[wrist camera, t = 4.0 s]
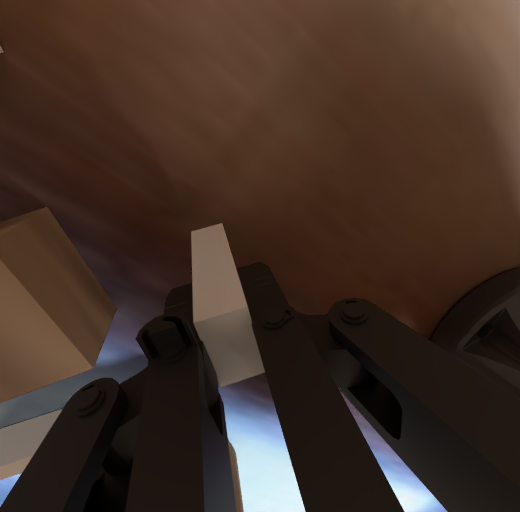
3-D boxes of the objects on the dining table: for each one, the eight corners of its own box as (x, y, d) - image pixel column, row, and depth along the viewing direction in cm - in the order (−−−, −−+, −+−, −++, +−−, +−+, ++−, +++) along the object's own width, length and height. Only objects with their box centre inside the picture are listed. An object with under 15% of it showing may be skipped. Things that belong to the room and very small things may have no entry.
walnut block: (48, 205, 15) (-13, 244, 10) (117, 306, 18) (93, 368, 14) (-90, 251, 14) (-215, 311, 10) (8, 345, 18) (-53, 422, 13)
